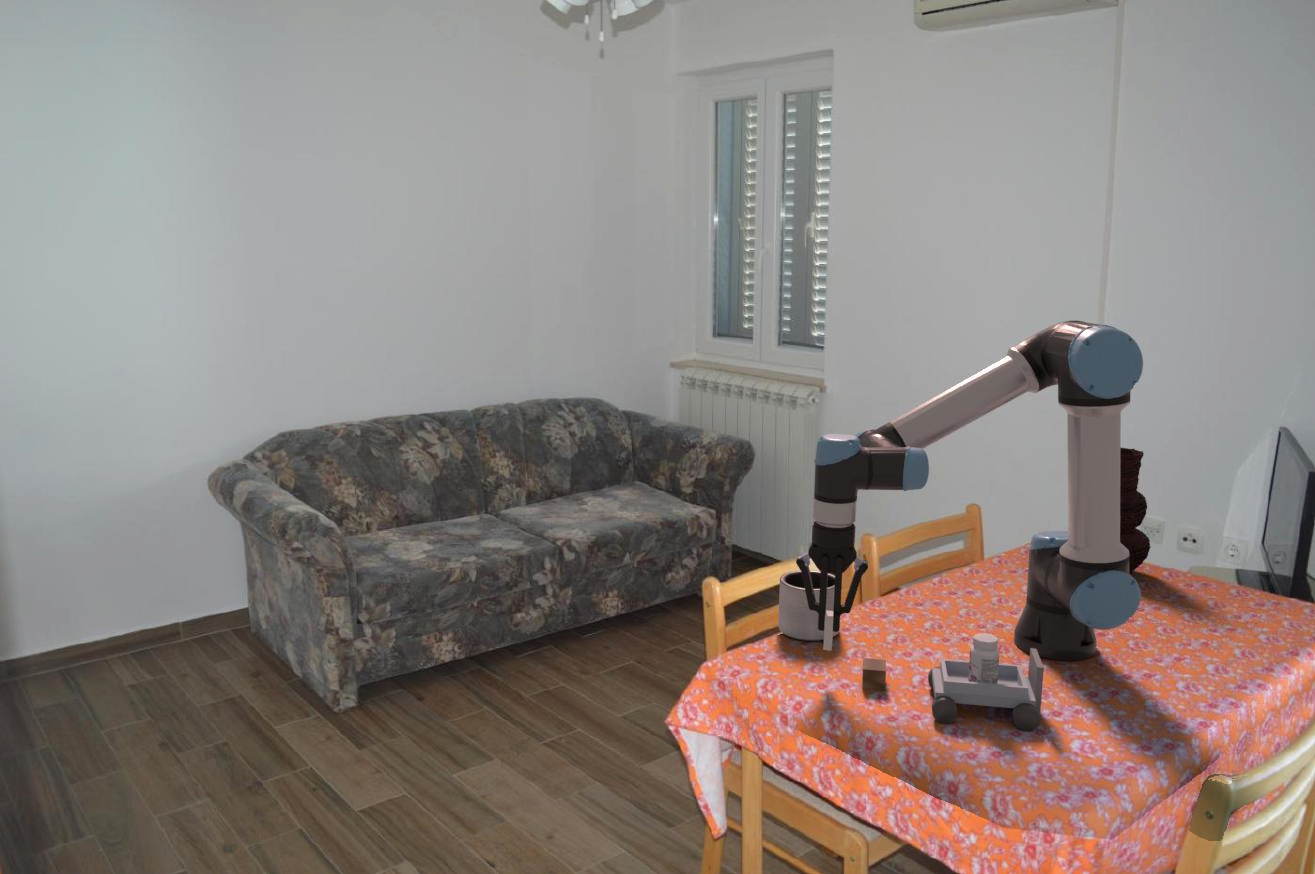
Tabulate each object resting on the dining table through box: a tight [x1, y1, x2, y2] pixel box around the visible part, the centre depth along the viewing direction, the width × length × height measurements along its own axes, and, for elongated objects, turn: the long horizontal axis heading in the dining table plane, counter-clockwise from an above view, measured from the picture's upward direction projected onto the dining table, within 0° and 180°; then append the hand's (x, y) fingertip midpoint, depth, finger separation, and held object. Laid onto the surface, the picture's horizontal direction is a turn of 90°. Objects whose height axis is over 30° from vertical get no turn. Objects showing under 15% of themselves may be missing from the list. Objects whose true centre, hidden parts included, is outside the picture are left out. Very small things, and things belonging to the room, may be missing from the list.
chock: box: [861, 657, 887, 692], centre depth 184 cm, size 4×5×4 cm
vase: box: [1120, 446, 1152, 576], centre depth 241 cm, size 15×15×30 cm
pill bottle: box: [968, 632, 1000, 684], centre depth 173 cm, size 5×5×8 cm
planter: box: [777, 569, 841, 642], centre depth 208 cm, size 13×12×11 cm
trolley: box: [927, 648, 1045, 732], centre depth 174 cm, size 18×14×10 cm
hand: (827, 647), depth 184 cm, fingers closed
